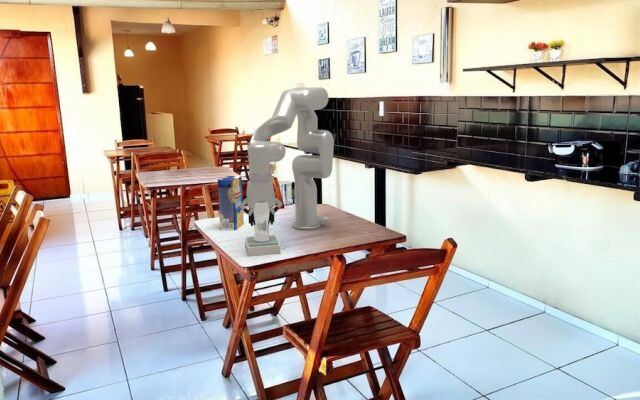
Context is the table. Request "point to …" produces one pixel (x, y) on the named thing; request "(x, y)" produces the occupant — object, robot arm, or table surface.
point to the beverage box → (230, 202)
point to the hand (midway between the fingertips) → (261, 224)
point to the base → (262, 246)
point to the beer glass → (261, 221)
